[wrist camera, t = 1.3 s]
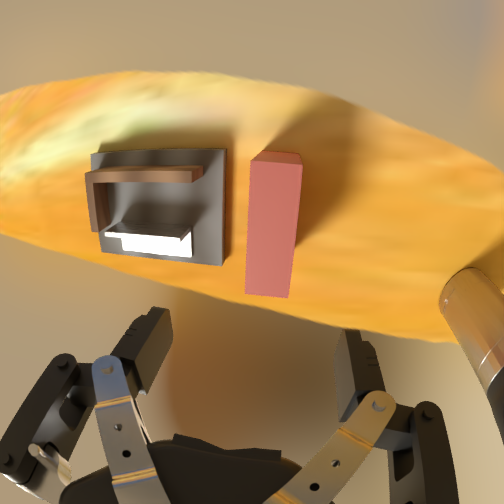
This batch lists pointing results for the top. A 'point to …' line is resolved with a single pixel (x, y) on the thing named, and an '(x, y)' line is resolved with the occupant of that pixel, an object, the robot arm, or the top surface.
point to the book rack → (161, 197)
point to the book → (272, 222)
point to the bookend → (154, 237)
